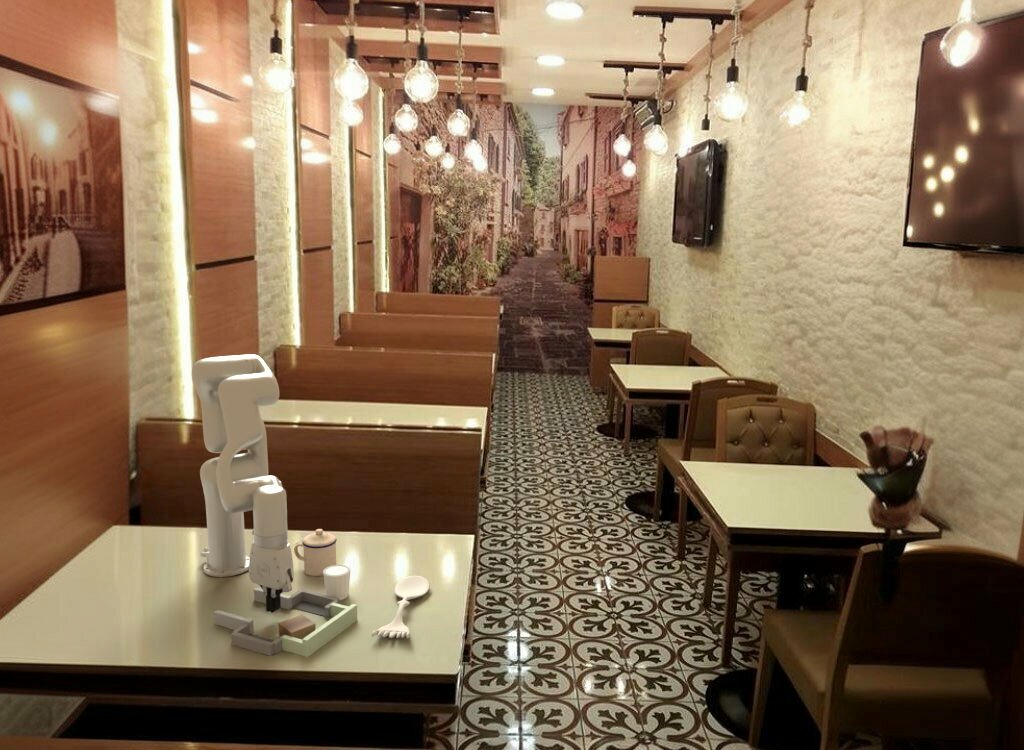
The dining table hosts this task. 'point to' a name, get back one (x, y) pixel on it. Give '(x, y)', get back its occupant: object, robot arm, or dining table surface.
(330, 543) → the teacup with lid
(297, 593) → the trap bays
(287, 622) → the walnut block
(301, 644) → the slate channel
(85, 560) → the dining table surface
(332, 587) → the shot glass
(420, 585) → the spoon
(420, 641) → the dining table surface
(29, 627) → the dining table surface
